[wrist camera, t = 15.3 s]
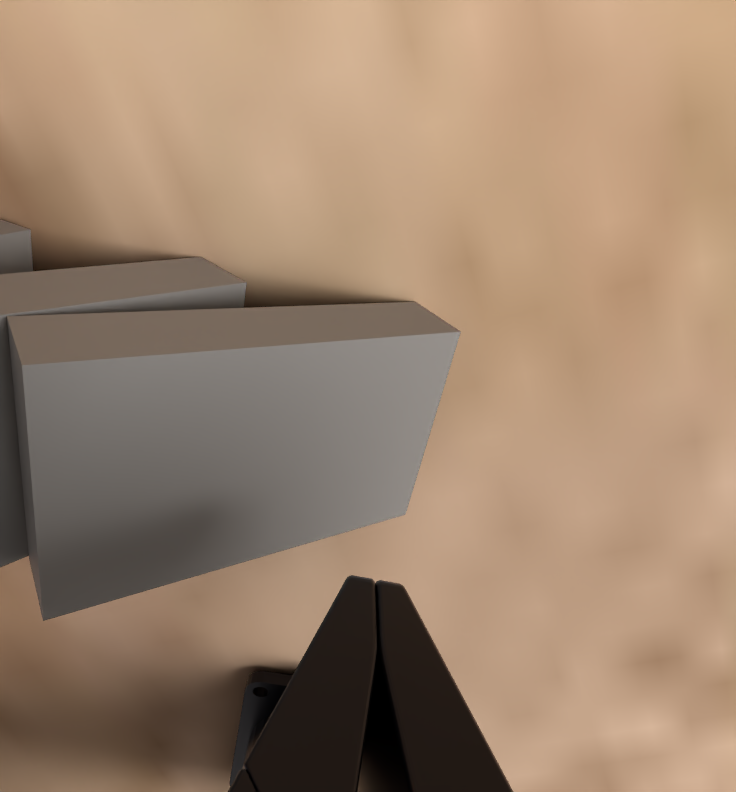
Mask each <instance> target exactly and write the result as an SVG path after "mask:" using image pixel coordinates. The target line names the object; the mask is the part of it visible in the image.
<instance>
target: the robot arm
mask: <svg viewBox="0 0 736 792" xmlns="http://www.w3.org/2000/svg"><path fill="white" fill-rule="evenodd" d="M228 792H513V790H512V789H511V787H510V785H509V783H508V781H507V779H506V777H505V775H504V774H503V772H502V770H501V768H500V766H499V764H498V762H497V760H496V758H495V757H494V755H493V753H492V751H491V749H490V747H489V745H488V743H487V742H486V740H485V738H484V736H483V734H482V732H481V730H480V728H479V726H478V725H477V723H476V721H475V719H474V717H473V715H472V713H471V711H470V710H469V708H468V706H467V704H466V702H465V700H464V698H463V696H462V694H461V693H460V691H459V689H458V687H457V685H456V683H455V681H454V679H453V678H452V676H451V674H450V672H449V670H448V668H447V666H446V664H445V662H444V661H443V659H442V657H441V655H440V653H439V651H438V649H437V647H436V646H435V644H434V642H433V640H432V638H431V636H430V634H429V632H428V631H427V629H426V627H425V625H424V623H423V621H422V619H421V617H420V615H419V614H418V612H417V610H416V608H415V606H414V604H413V602H412V600H411V599H410V597H409V595H408V593H407V591H406V589H405V588H404V586H403V585H401V584H398V583H393V582H387V581H382V580H379V581H377V582H376V583H375V582H374V580H373V579H370V578H364V577H359V576H353V575H351V576H349V577H347V579H346V580H345V582H344V584H343V586H342V588H341V589H340V591H339V593H338V595H337V597H336V598H335V600H334V602H333V604H332V606H331V607H330V609H329V611H328V613H327V615H326V616H325V618H324V620H323V622H322V624H321V625H320V627H319V629H318V631H317V633H316V634H315V636H314V638H313V640H312V642H311V643H310V645H309V647H308V649H307V651H306V652H305V654H304V656H303V658H302V660H301V661H300V663H299V665H298V667H297V669H296V670H295V672H294V674H293V676H292V675H285V674H279V673H273V672H266V671H257V672H253V673H252V674H250V675H249V677H248V680H247V684H246V688H245V694H244V700H243V706H242V712H241V718H240V724H239V730H238V736H237V742H236V748H235V753H234V759H233V765H232V771H231V777H230V789H229V790H228Z"/></svg>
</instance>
